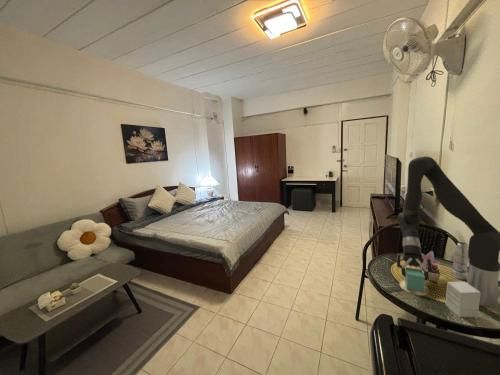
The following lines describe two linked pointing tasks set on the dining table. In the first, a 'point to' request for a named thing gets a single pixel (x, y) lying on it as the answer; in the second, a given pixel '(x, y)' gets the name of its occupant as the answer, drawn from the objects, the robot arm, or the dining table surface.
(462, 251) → the plastic bottle
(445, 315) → the dining table surface
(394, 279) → the dining table surface
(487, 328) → the dining table surface
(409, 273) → the teal block
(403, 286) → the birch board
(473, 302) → the supplement box
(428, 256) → the lily
